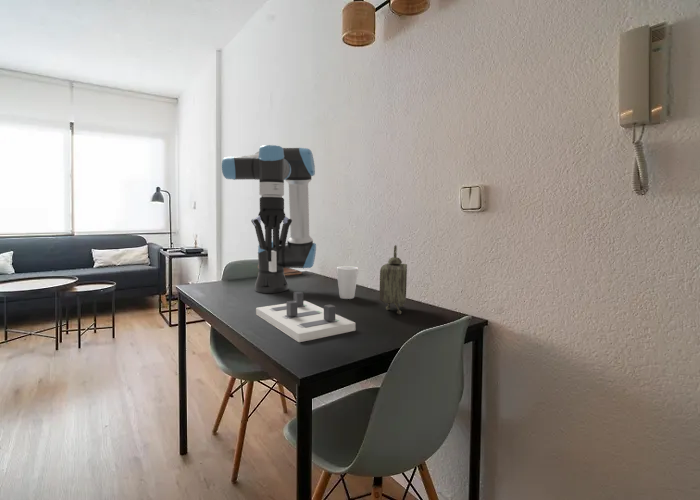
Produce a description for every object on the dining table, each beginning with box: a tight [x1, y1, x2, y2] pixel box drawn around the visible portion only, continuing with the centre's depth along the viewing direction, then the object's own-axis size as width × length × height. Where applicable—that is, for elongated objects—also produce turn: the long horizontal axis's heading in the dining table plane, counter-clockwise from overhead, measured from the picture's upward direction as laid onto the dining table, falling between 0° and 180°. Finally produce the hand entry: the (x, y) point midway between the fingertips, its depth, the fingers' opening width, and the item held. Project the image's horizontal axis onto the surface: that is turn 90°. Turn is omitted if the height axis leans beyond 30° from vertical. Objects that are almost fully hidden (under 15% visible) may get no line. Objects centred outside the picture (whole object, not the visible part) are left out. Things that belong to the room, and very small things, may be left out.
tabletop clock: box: [379, 244, 408, 315], centre depth 144 cm, size 14×9×25 cm, turn 168°
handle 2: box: [323, 304, 336, 321], centre depth 122 cm, size 3×2×4 cm
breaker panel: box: [255, 300, 356, 343], centre depth 129 cm, size 34×20×3 cm, turn 34°
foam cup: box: [336, 265, 359, 300], centre depth 165 cm, size 10×9×13 cm
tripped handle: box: [286, 300, 297, 317], centre depth 127 cm, size 3×2×4 cm
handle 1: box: [293, 291, 304, 306], centre depth 140 cm, size 3×2×4 cm
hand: (272, 271), depth 121 cm, fingers closed
